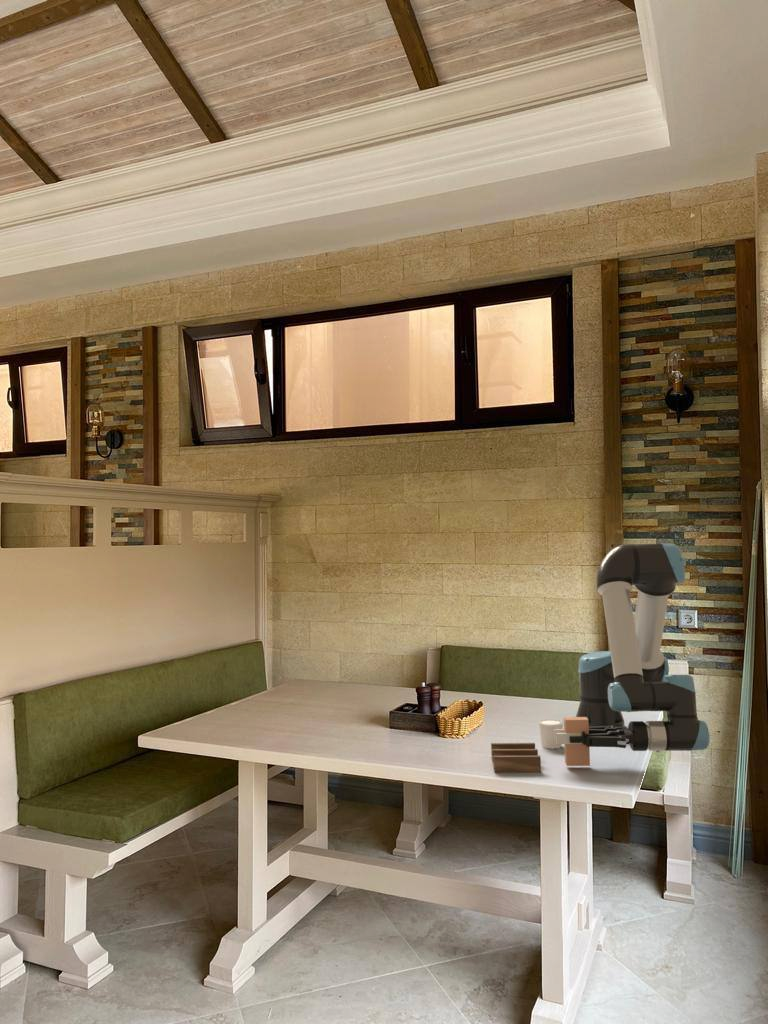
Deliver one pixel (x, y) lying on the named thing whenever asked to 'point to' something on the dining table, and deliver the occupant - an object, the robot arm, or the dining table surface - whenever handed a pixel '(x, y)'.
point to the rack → (515, 757)
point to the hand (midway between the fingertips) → (555, 736)
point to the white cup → (549, 733)
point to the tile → (576, 752)
